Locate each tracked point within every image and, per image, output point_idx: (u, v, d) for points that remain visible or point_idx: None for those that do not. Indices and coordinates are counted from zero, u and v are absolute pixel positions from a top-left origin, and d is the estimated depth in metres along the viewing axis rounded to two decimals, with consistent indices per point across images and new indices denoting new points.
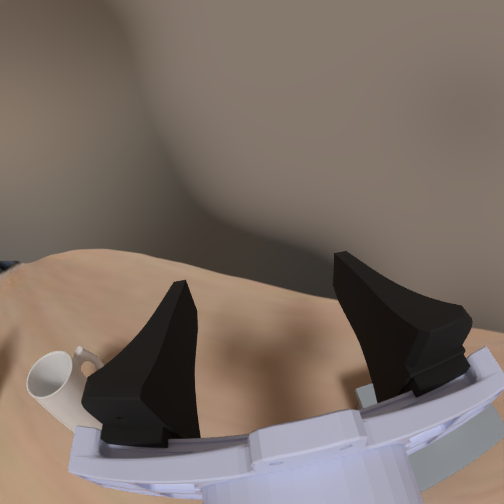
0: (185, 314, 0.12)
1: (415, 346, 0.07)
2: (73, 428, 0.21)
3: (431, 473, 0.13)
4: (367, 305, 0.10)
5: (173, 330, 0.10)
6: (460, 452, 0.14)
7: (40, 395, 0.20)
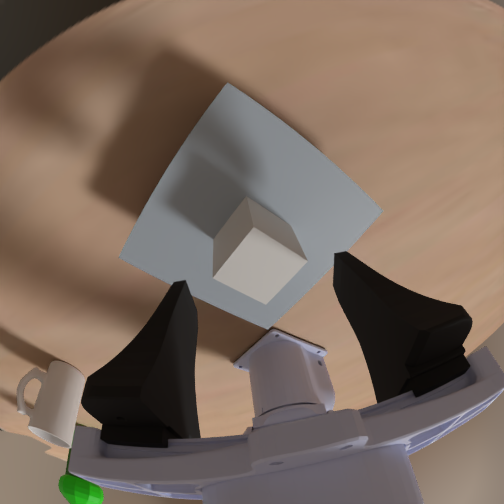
0: (185, 314, 0.12)
1: (415, 346, 0.07)
2: (77, 412, 0.29)
3: (284, 296, 0.21)
4: (367, 305, 0.10)
5: (173, 330, 0.10)
6: (310, 262, 0.19)
7: None
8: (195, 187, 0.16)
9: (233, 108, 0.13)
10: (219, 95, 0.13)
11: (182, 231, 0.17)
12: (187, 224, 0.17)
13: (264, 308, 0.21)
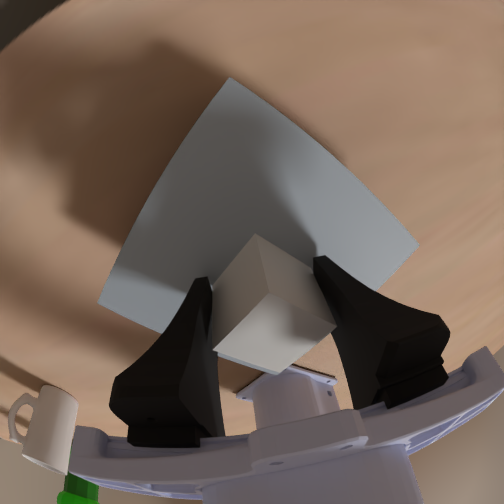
0: (208, 311, 0.12)
1: (384, 357, 0.07)
2: None
3: None
4: (342, 311, 0.10)
5: (200, 327, 0.10)
6: None
7: None
8: (187, 222, 0.12)
9: (238, 114, 0.10)
10: (218, 95, 0.09)
11: (172, 276, 0.13)
12: (178, 268, 0.13)
13: None
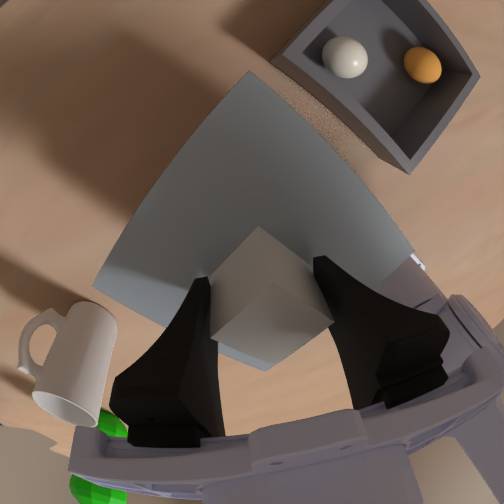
0: (208, 311, 0.12)
1: (384, 357, 0.07)
2: None
3: None
4: (342, 311, 0.10)
5: (200, 326, 0.10)
6: None
7: None
8: (193, 209, 0.12)
9: (254, 107, 0.10)
10: (236, 87, 0.09)
11: (172, 263, 0.13)
12: (178, 255, 0.13)
13: None
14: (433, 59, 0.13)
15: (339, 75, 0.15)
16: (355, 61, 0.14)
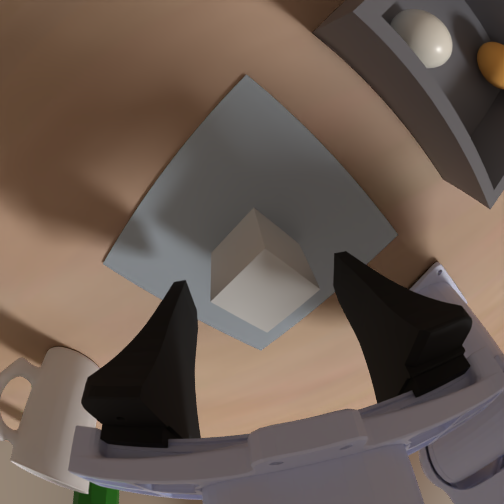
0: (185, 314, 0.12)
1: (415, 345, 0.07)
2: None
3: None
4: (367, 305, 0.10)
5: (173, 330, 0.10)
6: None
7: None
8: (196, 192, 0.14)
9: (250, 105, 0.12)
10: (235, 88, 0.11)
11: (177, 241, 0.15)
12: (183, 234, 0.15)
13: (260, 329, 0.19)
14: None
15: None
16: (442, 45, 0.07)
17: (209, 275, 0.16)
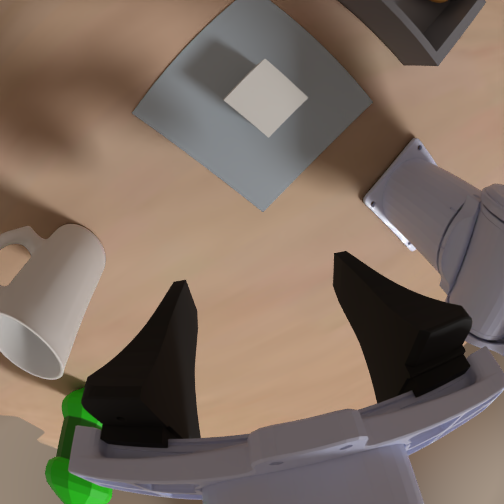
0: (185, 314, 0.12)
1: (415, 346, 0.07)
2: (85, 309, 0.19)
3: (281, 171, 0.21)
4: (367, 305, 0.10)
5: (173, 330, 0.10)
6: (308, 136, 0.20)
7: (47, 352, 0.16)
8: (215, 53, 0.16)
9: (254, 3, 0.14)
10: None
11: (197, 89, 0.17)
12: (202, 83, 0.17)
13: (262, 182, 0.21)
14: None
15: None
16: None
17: (220, 120, 0.18)
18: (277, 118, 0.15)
